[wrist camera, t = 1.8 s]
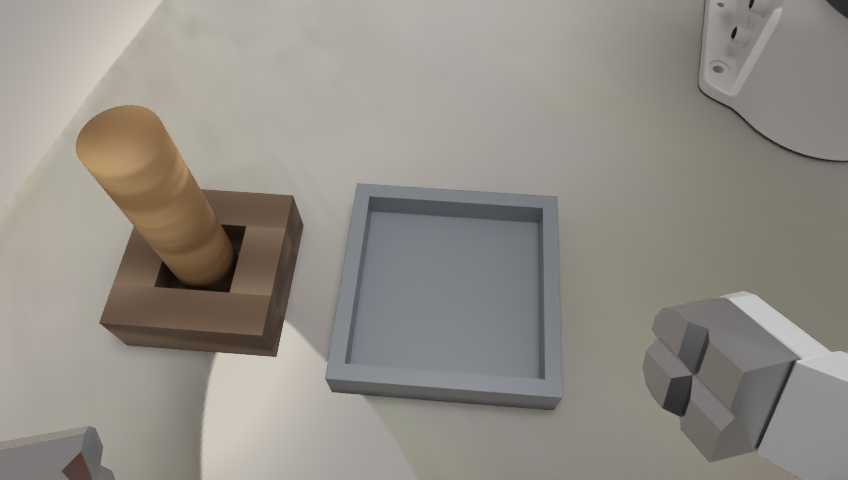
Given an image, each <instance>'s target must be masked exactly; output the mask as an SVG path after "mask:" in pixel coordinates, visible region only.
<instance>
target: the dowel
mask: <svg viewBox="0 0 848 480" xmlns="http://www.w3.org/2000/svg"><path fill="white" fill-rule="evenodd" d="M76 153H77V156H78V158H79V160H80V161H81V162H82V163H83V165H84V166H85V167H86V168H87V169H88V171H89V172H90V173H91V174H92V176H93V177H94V178H95V179H96V180H97V182H98V183H99V184H100V185H101V186H102V188H103V189H104V190H105V191H106V192H107V194H108V195H109V196H110V197H111V199H112V200H113V201H114V202H115V203H116V205H117V206H118V207H119V208H120V209H121V211H122V212H123V213H124V214H125V215H126V217H127V218H128V219H129V220H130V222H131V223H132V224H133V225H134V226H135V228H136V229H137V230H138V231H139V232H140V234H141V235H142V236H143V237H144V238H145V240H146V241H147V242H148V243H149V245H150V246H151V247H152V248H153V249H154V251H155V252H156V253H157V254H158V255H159V257H160V258H161V259H162V260H163V262H164V263H165V264H166V265H167V266H168V268H169V269H170V270H171V271H172V272H173V274H174V275H175V276H176V277H177V278H178V280H179V281H180V282H181V283H182V285H183V286H184V287H185V288H186V289H187V290H201V291H214V292H227V293H230V289H231V285H232V281H233V277H234V273H235V269H236V266H237V262H238V258H239V255H238V253H237V252H236V250H235V248H234V246H233V245H232V243H231V241H230V239H229V238H228V236H227V234H226V233H225V231H224V229H223V227H222V226H221V224H220V222H219V220H218V219H217V217H216V215H215V214H214V212H213V210H212V208H211V207H210V205H209V203H208V201H207V200H206V198H205V196H204V195H203V193H202V191H201V189H200V188H199V186H198V184H197V182H196V181H195V179H194V177H193V176H192V174H191V172H190V170H189V169H188V167H187V165H186V163H185V162H184V160H183V158H182V157H181V155H180V153H179V151H178V150H177V148H176V146H175V144H174V143H173V141H172V139H171V138H170V136H169V134H168V132H167V131H166V129H165V127H164V125H163V124H162V122H161V120H160V119H159V117H158V116H157V115H156V114H155V113H154V112H152V111H151V110H149V109H147V108H144V107H141V106H134V105H125V106H118V107H114V108H111V109H108V110H106V111H103V112H101V113H100V114H98V115H96V116H95V117H94V118H92V119H91V120H90V121H89V122H88V123H87V124H86V125H85V126H84V127H83V128H82V130H81V131H80V133H79V135H78V138H77V142H76Z"/></svg>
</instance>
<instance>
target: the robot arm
mask: <svg viewBox="0 0 848 480" xmlns="http://www.w3.org/2000/svg"><path fill="white" fill-rule="evenodd" d="M716 72H717V73H716ZM698 83H699V87H700V89H701V90H702V91H703V92H704V93H705V94H707V95H708V96H710V97H712V98H714V99H715V100H717V101H719V102H721V103H723V104H725V105H728V106H730V107H731V108H733V109H734V110H735V111H737V112H738V113H739V114H740V115H741V116H742V117H743V118H744V119H745V120H746V121H747V122H748V123H750V124H751V125H752V126H753V127H754V128H755V129H756V130H758V131H759V132H760V133H762V134H763V135H765V136H766V137H768V138H769V139H771V140H773V141H774V142H776V143H778V144H780V145H782V146H784V147H786V148H788V149H791V150H793V151H796V152H799V153H802V154H805V155H808V156H812V157H816V158H821V159H828V160H841V161H847V160H848V0H706V4H705V15H704V26H703V37H702V48H701V59H700V70H699V81H698ZM652 330H653V332H654V334H655V335H656V337H657V339H656V340H655V342H654V343H653V344H652V345H651V346H650V347H649V349H648V350H647V351H646V355H645V360H644V364H643V371H644V376H645V381H646V385H647V387H648V389H649V391H650V393H651V394H652V396H653V398H654V399H655V400H656V401H657V402H658V404H659V405H660V406H661V407H662V408H663V409H665V410H667V411H669V412H671V413H673V414H675V415H678V416H680V426H681V430H682V431H683V433H684V434H685V435H686V436H687V437H688V438H689V439H690V441H691V442H692V443H693V444H694V445H695V446H696V447H697V449H698V450H699V451H700V452H701V453H702V454H703V456H704V457H705V458H706V459H707V460H708V461H709V462H714V461H718V460H722V459H725V458H729V457H733V456H737V455H741V454H745V453H749V452H753V451H757V450H758V451H757V454H758V455H760V456H762V457H763V458H765V459H767V460H769V461H770V462H772V463H774V464H775V465H777V466H779V467H780V468H782V469H784V470H786V471H787V472H789V473H791V474H792V475H794V476H796V477H798V478H799V479H801V480H848V353H845V352H842V351H835V352H830V351H829V350H828V349H826V348H825V347H824V346H823V345H821V344H820V343H819V342H817V341H816V340H815V339H813V338H812V337H811V336H809V335H808V334H807V333H805V332H804V331H803V330H801V329H800V328H799V327H797V326H796V325H795V324H793V323H792V322H791V321H789V320H788V319H787V318H785V317H784V316H783V315H781V314H780V313H779V312H777V311H776V310H775V309H773V308H772V307H771V306H770V305H768V304H767V303H766V302H764V301H763V300H762V299H760V298H759V297H758V296H756V295H755V294H752V293H749V292H745V291H741V292H736V293H732V294H727V295H723V296H718V297H716V298H710V299H705V300H701V301H696V302H691V303H687V304H682V305H677V306H673V307H668V308H663V309H662V310H661V311H660V312H659V313H658V314H657V316H656V317H655V321H654V324H653V328H652ZM102 450H103V445H102V443H101V441H100V438H99V436H98V434H97V431H96V429H95V428H93V427H90V426H87V427H82V428H76V429H71V430H65V431H60V432H54V433H49V434H43V435H38V436H32V437H27V438H21V439H16V440H10V441H5V442H0V480H115V478H114V475H113V473H112V471H111V470H109V469H107V468H105V467H103V466H101V465H100V464H101V457H102Z"/></svg>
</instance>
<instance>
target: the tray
mask: <svg viewBox="0 0 848 480" xmlns="http://www.w3.org/2000/svg"><path fill="white" fill-rule="evenodd" d="M325 379H326V381H327V383H328V385H329V387H330V389H331V391H332V392H338V393H350V394H362V395H374V396H386V397H398V398H411V399H423V400H435V401H447V402H460V403H472V404H484V405H496V406H509V407H521V408H533V409H545V410H554V409H555V407H556V406H557V405H558V403H559V402H560V401H561V399H562V398H563V394H562V356H561V318H560V280H559V242H558V204H557V197H554V196H539V195H524V194H509V193H494V192H479V191H464V190H449V189H434V188H419V187H404V186H389V185H374V184H359V183H357V187H356V193H355V199H354V205H353V212H352V218H351V224H350V230H349V236H348V242H347V248H346V255H345V261H344V267H343V273H342V279H341V285H340V291H339V298H338V304H337V310H336V316H335V322H334V328H333V334H332V340H331V347H330V353H329V359H328V365H327V371H326V377H325Z"/></svg>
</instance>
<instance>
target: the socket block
mask: <svg viewBox="0 0 848 480" xmlns="http://www.w3.org/2000/svg"><path fill="white" fill-rule="evenodd" d="M201 191H202V193H203V195H204V196H205V198H206V200H207V201H208V203H209V205H210V207H211V208H212V210H213V212H214V214H215V215H216V217H217V219H218V220H219V222H220V224H221V226H222V227H223V229H224V231H225V233H226V234H227V236H228V238H229V239H230V241H231V243H232V245H233V246H234V248H235V250H236V252H237V253H240V254H239V258H238V262H237V266H236V269H235V273H234V277H233V281H232V285H231V289H230V293H227V292H214V291H201V290H187V289H184V286H183V285H182V283H181V282H180V281H179V280H178V278H177V277H176V276H175V275H174V274H173V272H172V271H171V270H170V269H169V268H168V266H167V265H166V264H165V263H164V262H163V260H162V259H161V258H160V257H159V255H158V254H157V253H156V252H155V251H154V249H153V248H152V247H151V246H150V245H149V243H148V242H147V241H146V240H145V238H144V237H143V236H142V235H141V234H140V232H139V231H138V230H137V229H136V228H135V226H134V228H133V230H132V233H131V236H130V239H129V241H128V244H127V247H126V250H125V253H124V255H123V258H122V261H121V264H120V266H119V269H118V272H117V275H116V278H115V280H114V283H113V286H112V289H111V292H110V294H109V297H108V300H107V303H106V305H105V308H104V311H103V314H102V317H101V319H100V322H99V323H100V324H101V325H103V326H104V327H105V328H106V329H108V330H109V331H110V332H111V333H113V334H114V335H115V336H117V337H118V338H119V339H120V340H122V341H123V342H124V343H125V344H127V345H133V346H146V347H159V348H171V349H184V350H196V351H209V352H222V353H234V354H247V355H259V356H272V357H276V356H277V351H278V346H279V342H280V337H281V332H282V327H283V322H284V317H285V312H286V307H287V303H288V298H289V293H290V288H291V283H292V278H293V273H294V269H295V264H296V259H297V254H298V249H299V244H300V239H301V235H302V230H303V223H302V220H301V217H300V214H299V211H298V209H297V206H296V203H295V200H294V197H293V196H292V195H277V194H262V193H248V192H233V191H218V190H204V189H201Z"/></svg>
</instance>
